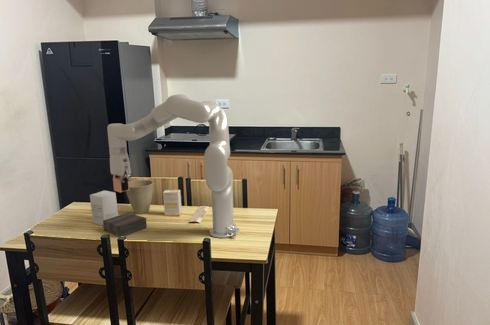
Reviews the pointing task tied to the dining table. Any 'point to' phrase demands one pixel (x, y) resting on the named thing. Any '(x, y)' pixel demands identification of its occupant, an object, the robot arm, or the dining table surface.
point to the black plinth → (124, 224)
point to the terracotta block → (118, 184)
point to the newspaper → (199, 214)
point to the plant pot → (140, 195)
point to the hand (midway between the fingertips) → (121, 188)
